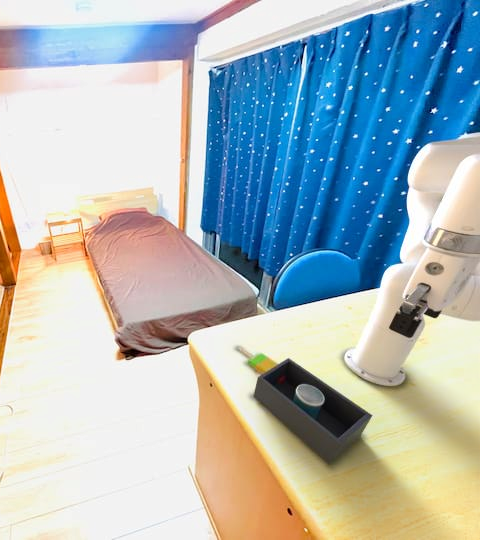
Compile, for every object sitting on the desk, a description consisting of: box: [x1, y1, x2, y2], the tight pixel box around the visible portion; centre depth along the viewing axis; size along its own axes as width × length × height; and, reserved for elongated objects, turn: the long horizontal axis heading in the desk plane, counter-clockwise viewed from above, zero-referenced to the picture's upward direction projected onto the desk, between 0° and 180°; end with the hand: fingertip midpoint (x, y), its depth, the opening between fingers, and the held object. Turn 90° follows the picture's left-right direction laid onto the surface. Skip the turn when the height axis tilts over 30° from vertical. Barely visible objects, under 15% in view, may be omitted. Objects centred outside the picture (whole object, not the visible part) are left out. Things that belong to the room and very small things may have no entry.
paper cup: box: [293, 384, 324, 420], centre depth 65 cm, size 5×5×7 cm
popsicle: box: [237, 346, 285, 383], centre depth 80 cm, size 6×3×15 cm
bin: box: [252, 357, 373, 465], centre depth 65 cm, size 12×19×8 cm, turn 28°
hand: (413, 323), depth 52 cm, fingers open, 9 cm apart
